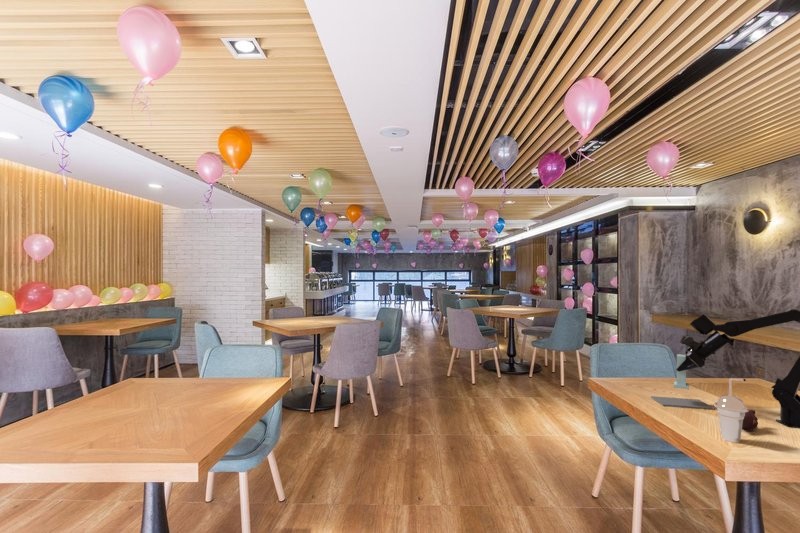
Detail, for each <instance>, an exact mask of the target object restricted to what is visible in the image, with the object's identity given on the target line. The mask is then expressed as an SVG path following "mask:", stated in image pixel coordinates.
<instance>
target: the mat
mask: <svg viewBox="0 0 800 533" xmlns="http://www.w3.org/2000/svg"><path fill="white" fill-rule="evenodd" d="M650 398H651V399H652V400H653V401H656V402H657V403H658V404H660V405H661V406H662V407H671V408H686V409H701V410H711V411H712V410H713V411H715V408H716V407H714V406H712V405H709V404H707V403H706V402H704V401H702V400H700V399H696V398H695V399H694V398H682V397H681V398H680V397H671V396H670V397H666V396H655V395H654V396H650Z"/></svg>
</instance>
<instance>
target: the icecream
mask: <svg viewBox="0 0 800 533" xmlns="http://www.w3.org/2000/svg"><path fill="white" fill-rule="evenodd" d="M755 414H756V410H754V409H748V412H745V417H744V419H743V425H742V431H746V432H750V431H751V432H752V431H753V430H754V429H757V428H758V425H759V422H758V420H759V418H758V417H757V416H756V415H755Z"/></svg>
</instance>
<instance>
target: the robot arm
mask: <svg viewBox="0 0 800 533" xmlns="http://www.w3.org/2000/svg"><path fill="white" fill-rule="evenodd" d="M789 322H796V323H799V324H800V309H798V308H793V309H790V310H788V311H783V312H779V313H775V314H771V315H766V316H762V317H757V318H752V319H751V318H750V319H740V320H739V319H738V320H729V321H726V322H725V323H717V324H716V323H715V322H714V321H713V320H712V319H711V318H710V317H709V316H708V315H707V314H704V313H703V314H702V315H700V316H699V317H697V318H694V319H693V320H692V321H691V322H690V323H689V325H690V326H691V327H692V328H693V329H694V330H695V331H697V333H698V334H700V336H705V337H706V338H704V339H700V340H699V341H698V340H696V339H694V337H693V336H690V335H685V334H682V337H681V338H680V339H679V343H680V344H682V345H685V346H688V347H687V348H686V350H685V355H686V359H685V360H684V361H683V363H682V364H681V365H680V366H679V367H678V368H677V367H676V372H677V371H683V370H686V371H687V370H691V369H696V368H700V369H701V368H702V367H704V366H705V365H706V364H705V363H706V361H707V359H709V358H710V357H712V356H713V355H715V354H716V353H717V352H718V351H720V350H721V349H722V348H724V347H726V345H728V344H729V345H730V346H731V347H734V348H735V345H736V344H735V341H736V339H735V338H734V337H738V336H741V335H744V334H747V333H749V332H751V331H754V330H757V329H762V328H767V327H771V326H776V325H781V324H784V323H785V324H786V323H789ZM721 333H723V334H721ZM708 335H709V336H708ZM730 337H731V338H730ZM732 337H733V339H732ZM771 389H772V391H771V394H772V396H773V398H774V399H775V400H776V401H778V403H779V405H780V411H779V412H780V413H779V414H780V415H779V416H780V418H779V419H775V422H777V423H780V424H782V425H783V426H786V427H788V428H789V427H790V428H800V395H799V394H798V392H799V389H800V355H799V357H798V358H797V360H796V361H795V363H794V365H793V366H792V367H791V369H790V371H789V372H788V374H787V375H786V376H785V377H783V376H781V375H780V376H778V377H777V378H776V381H775V383H774V385H772V386H771Z"/></svg>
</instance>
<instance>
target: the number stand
mask: <svg viewBox="0 0 800 533" xmlns="http://www.w3.org/2000/svg"><path fill="white" fill-rule="evenodd" d="M685 359H686V354H679V353H677V354H676V369H677V368H678V367H679V366H680V365H681V364H682V363H683V361H684V360H685ZM673 388H674V389H680V390H690V383H689V382H687V370H683V371H677V370H676V381H673Z"/></svg>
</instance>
